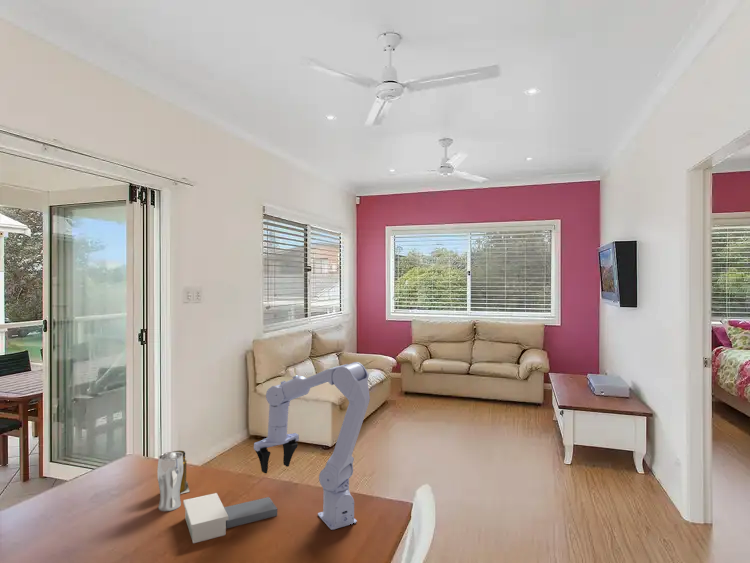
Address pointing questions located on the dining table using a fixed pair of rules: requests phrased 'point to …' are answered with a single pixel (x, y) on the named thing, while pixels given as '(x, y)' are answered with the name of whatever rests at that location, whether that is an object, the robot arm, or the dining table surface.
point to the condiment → (184, 483)
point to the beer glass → (170, 480)
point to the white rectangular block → (205, 517)
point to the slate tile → (250, 512)
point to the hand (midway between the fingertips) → (275, 468)
